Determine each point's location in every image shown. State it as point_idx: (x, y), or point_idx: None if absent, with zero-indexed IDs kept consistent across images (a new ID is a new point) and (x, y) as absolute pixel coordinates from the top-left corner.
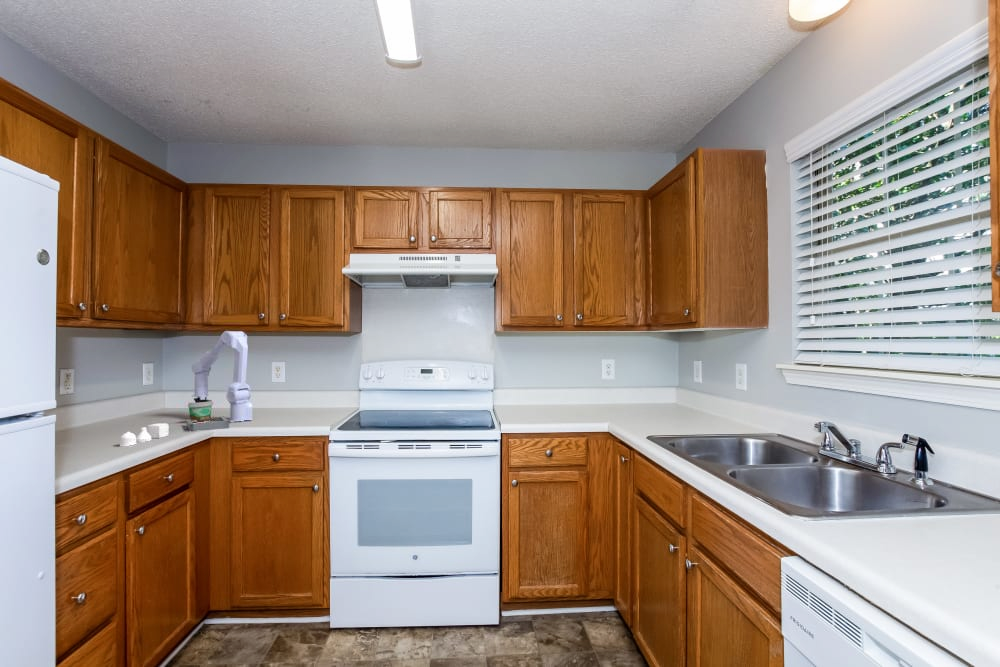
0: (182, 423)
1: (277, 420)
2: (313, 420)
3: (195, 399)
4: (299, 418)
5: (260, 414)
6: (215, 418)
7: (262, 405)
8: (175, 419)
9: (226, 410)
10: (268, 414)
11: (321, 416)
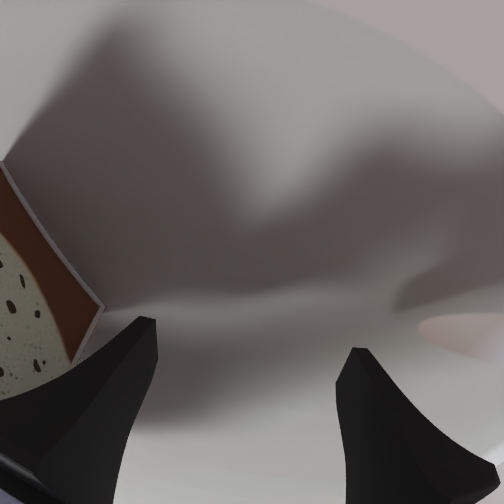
0: (38, 97)
1: None
2: None
3: (422, 500)
4: None
5: (187, 491)
6: (172, 379)
7: None
8: (417, 87)
9: (465, 443)
10: (167, 494)
11: None
